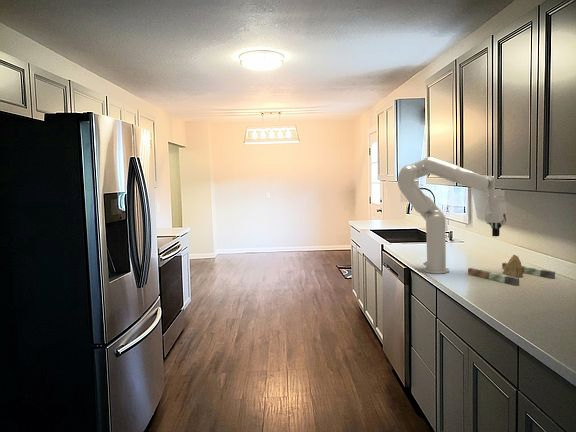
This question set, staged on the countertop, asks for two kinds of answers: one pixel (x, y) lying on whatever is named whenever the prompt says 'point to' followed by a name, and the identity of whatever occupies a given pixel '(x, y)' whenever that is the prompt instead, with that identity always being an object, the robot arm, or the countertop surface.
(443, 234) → the robot arm
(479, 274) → the channel
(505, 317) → the countertop surface
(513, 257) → the rock
